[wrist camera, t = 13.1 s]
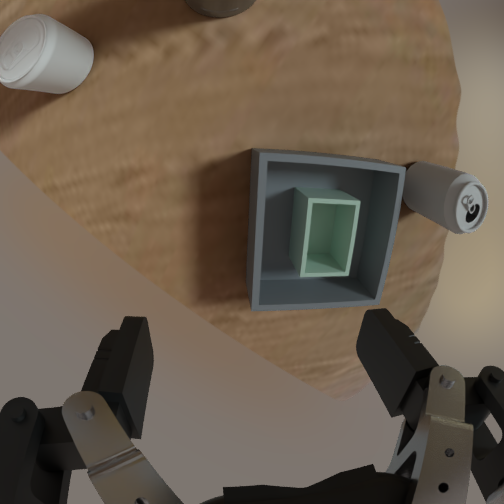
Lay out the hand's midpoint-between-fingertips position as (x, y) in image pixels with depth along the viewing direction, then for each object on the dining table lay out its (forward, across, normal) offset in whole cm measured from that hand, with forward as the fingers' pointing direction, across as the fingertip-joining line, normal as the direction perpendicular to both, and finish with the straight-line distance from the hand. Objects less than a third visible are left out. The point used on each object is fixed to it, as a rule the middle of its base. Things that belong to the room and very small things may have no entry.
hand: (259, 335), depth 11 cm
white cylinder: (+28, +21, -17) cm, 39 cm away
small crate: (+27, -11, +4) cm, 29 cm away
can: (+28, -27, -2) cm, 39 cm away
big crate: (+28, -11, +4) cm, 30 cm away
